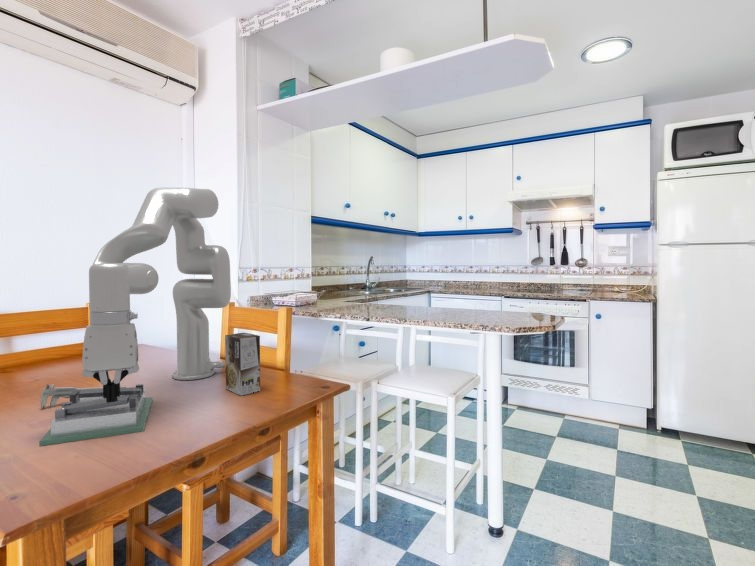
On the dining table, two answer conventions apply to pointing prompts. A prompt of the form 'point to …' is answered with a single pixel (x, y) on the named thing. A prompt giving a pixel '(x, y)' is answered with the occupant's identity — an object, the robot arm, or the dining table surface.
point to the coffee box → (242, 363)
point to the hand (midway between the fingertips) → (111, 400)
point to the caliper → (60, 393)
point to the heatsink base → (98, 419)
